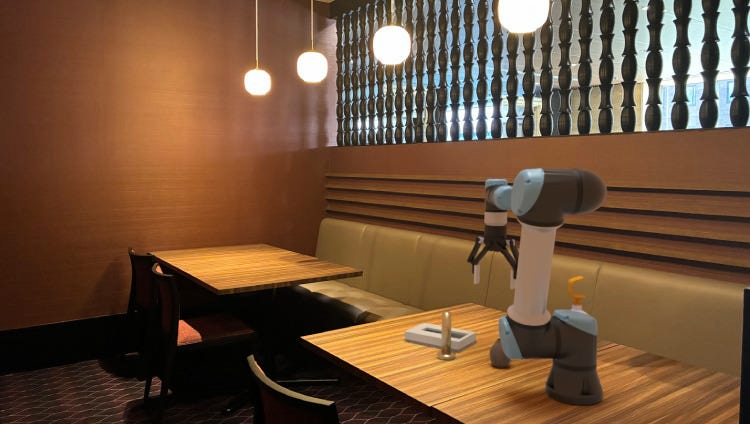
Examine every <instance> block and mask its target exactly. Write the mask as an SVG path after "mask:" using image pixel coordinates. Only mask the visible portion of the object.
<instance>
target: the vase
mask: <svg viewBox="0 0 750 424" xmlns="http://www.w3.org/2000/svg"><path fill="white" fill-rule="evenodd" d="M489 360H490V362H491V364H492V366H493V367H495V368H498V369H500V368H501V369H504V368H507V367H509V365H510V363H511V361H512V359H510V358H508V357H507V356H506V355H505V353H504V351H503V348H502V345H501V341H500V337H499V338H497V339H496V341H495V342H494V343H493V344H492V345H491V347H490V349H489Z"/></svg>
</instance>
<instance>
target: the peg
mask: <svg viewBox="0 0 750 424" xmlns="http://www.w3.org/2000/svg"><path fill="white" fill-rule="evenodd" d="M452 314H453V313H452V311H449V310H442V311H441V326H442V349H441V351H437V354H436V355H437V356H436V358H437V359H438V360H440V361H454V360H456V352H453V351H451V328H452V316H453V315H452Z"/></svg>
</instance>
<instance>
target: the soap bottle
mask: <svg viewBox="0 0 750 424" xmlns="http://www.w3.org/2000/svg"><path fill="white" fill-rule="evenodd" d="M582 280H584V276H582V275H578V276H575V277H571V278H570V279H568V281H567V294H568V295H569V296H570V297H572V299H573V300H574V302H571V309H570V310H572V311H577V312H581V313H584V314H587V315H589V314H588V313H587V312H586V311H585V310H583V303H581V302H580V300H582V299H585V298H586V295H584V294H581V293H573V286H574V284H575V283H576V282H579V281H582Z"/></svg>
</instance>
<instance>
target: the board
mask: <svg viewBox="0 0 750 424" xmlns="http://www.w3.org/2000/svg"><path fill="white" fill-rule="evenodd" d="M405 341H406V342H407V343H410V342H411V344H414V345H415V344H416V345H420V346H425V347H430V348H435V349H439V350H442V325H438V324H433V323H425V322H423V323H420V324H418V325H416V326H413V327H411V328H408V329H406V330H404V342H405ZM476 343H477V332H476V331H472V330H471V331H470V330H465V329H459V328H454V327H451V351H452V352H454V353H461V352H462V351H463V350H466V349H467V348H469V347H471V346H473V345H474V344H476Z"/></svg>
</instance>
